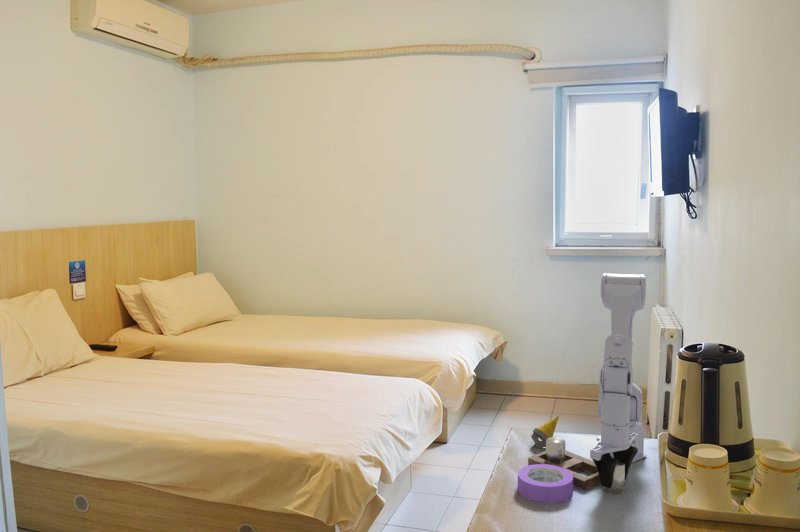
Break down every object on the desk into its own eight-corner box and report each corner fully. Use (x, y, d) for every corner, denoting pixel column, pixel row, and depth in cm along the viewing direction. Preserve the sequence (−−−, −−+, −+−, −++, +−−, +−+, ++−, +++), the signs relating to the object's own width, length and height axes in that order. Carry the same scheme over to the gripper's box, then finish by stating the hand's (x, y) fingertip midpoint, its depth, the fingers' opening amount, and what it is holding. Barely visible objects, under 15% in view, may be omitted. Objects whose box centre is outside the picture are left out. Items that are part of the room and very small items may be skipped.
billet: (611, 483, 155) (611, 457, 154) (628, 490, 152) (629, 463, 151) (598, 489, 152) (599, 462, 152) (615, 496, 149) (616, 469, 148)
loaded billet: (554, 460, 168) (554, 435, 167) (569, 466, 164) (569, 441, 163) (541, 465, 165) (542, 440, 164) (556, 471, 162) (556, 446, 161)
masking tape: (522, 476, 160) (522, 460, 159) (575, 483, 156) (576, 467, 155) (512, 499, 149) (513, 482, 148) (569, 507, 145) (569, 489, 144)
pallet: (556, 454, 171) (556, 446, 171) (612, 477, 158) (612, 468, 158) (528, 465, 165) (528, 457, 165) (583, 489, 152) (584, 480, 152)
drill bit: (527, 443, 180) (551, 412, 182) (544, 456, 177) (568, 425, 179) (524, 437, 175) (549, 406, 177) (542, 450, 172) (566, 418, 174)
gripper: (618, 409, 157) (617, 467, 159) (578, 424, 148) (577, 486, 150) (647, 417, 152) (645, 477, 154) (607, 434, 143) (605, 497, 145)
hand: (613, 482), depth 152 cm, fingers open, 5 cm apart
